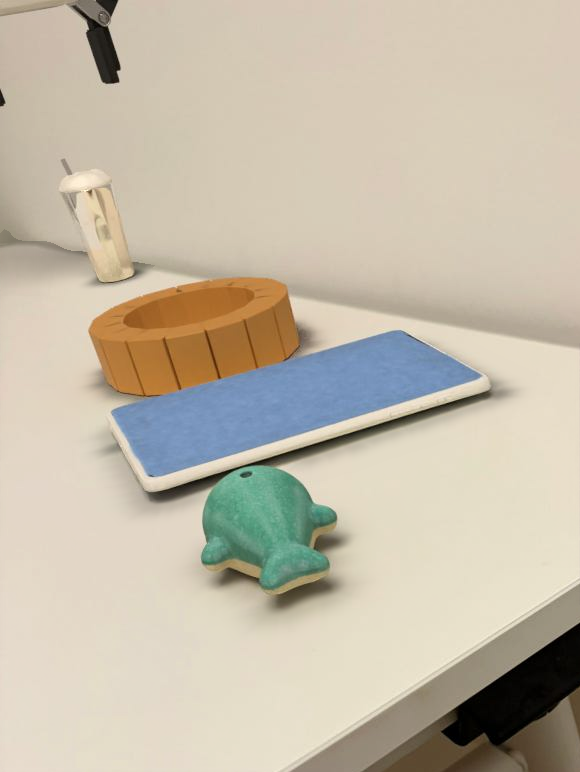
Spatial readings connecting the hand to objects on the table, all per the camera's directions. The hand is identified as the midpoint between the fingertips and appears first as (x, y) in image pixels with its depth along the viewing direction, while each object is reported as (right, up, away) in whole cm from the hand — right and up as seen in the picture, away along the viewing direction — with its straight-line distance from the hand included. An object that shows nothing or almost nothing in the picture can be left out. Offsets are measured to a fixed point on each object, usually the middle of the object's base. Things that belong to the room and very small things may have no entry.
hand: (56, 94), depth 78 cm
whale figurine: (+28, -43, -39) cm, 65 cm away
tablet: (+26, -34, -25) cm, 49 cm away
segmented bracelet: (+17, -27, -15) cm, 35 cm away
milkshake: (+2, -12, +9) cm, 15 cm away
